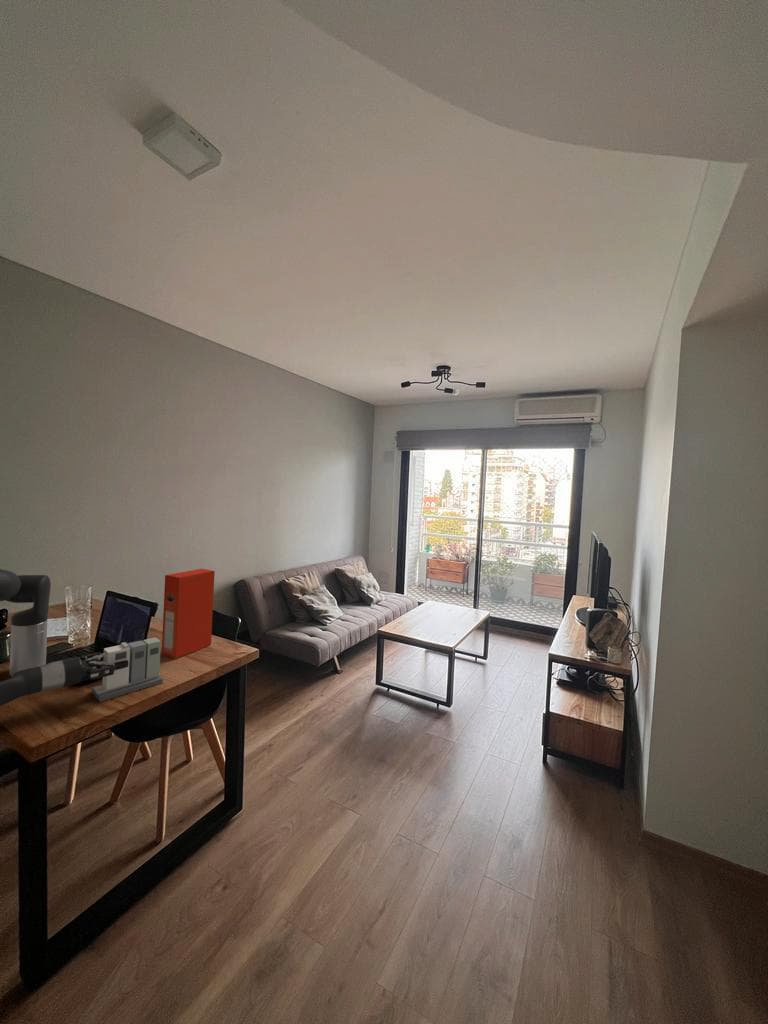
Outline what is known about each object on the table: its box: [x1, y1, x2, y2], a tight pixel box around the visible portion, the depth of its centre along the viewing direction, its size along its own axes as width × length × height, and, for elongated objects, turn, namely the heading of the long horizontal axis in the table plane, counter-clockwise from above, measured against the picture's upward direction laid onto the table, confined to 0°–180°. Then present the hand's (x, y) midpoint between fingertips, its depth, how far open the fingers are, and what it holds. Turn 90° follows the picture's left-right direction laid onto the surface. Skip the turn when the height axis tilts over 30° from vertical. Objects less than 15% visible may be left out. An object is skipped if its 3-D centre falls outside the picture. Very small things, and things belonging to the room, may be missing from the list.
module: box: [101, 641, 130, 690], centre depth 127 cm, size 5×6×13 cm
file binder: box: [161, 568, 215, 660], centre depth 162 cm, size 8×17×32 cm, turn 157°
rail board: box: [91, 637, 164, 703], centre depth 130 cm, size 8×18×14 cm, turn 141°
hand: (123, 658), depth 128 cm, fingers open, 8 cm apart
